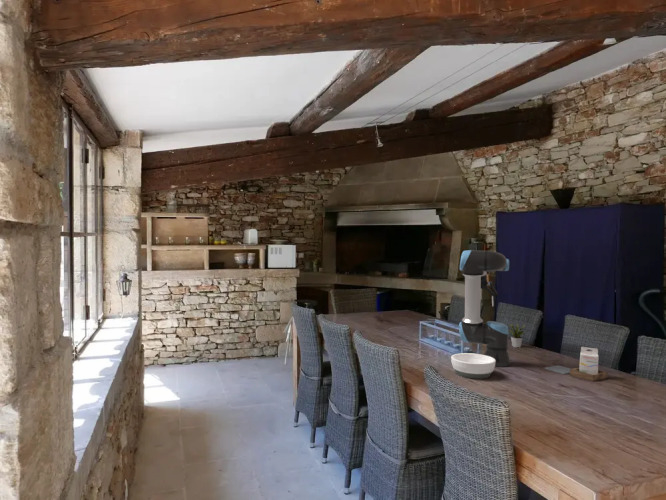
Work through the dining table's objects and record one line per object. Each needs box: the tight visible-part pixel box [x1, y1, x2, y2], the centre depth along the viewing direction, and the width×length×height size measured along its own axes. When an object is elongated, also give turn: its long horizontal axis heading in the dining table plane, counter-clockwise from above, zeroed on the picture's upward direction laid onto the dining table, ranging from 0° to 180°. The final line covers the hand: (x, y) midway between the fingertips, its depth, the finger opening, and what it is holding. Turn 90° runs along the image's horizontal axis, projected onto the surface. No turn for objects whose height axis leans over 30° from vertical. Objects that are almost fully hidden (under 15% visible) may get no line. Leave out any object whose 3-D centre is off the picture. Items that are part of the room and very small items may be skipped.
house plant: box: [504, 322, 526, 348], centre depth 323 cm, size 14×14×16 cm
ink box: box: [578, 346, 600, 375], centre depth 255 cm, size 9×5×15 cm, turn 62°
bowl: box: [450, 352, 496, 380], centre depth 257 cm, size 22×22×8 cm
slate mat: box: [543, 364, 571, 375], centre depth 267 cm, size 12×12×1 cm
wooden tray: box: [569, 367, 608, 382], centre depth 255 cm, size 12×12×3 cm
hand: (482, 305), depth 328 cm, fingers open, 13 cm apart
